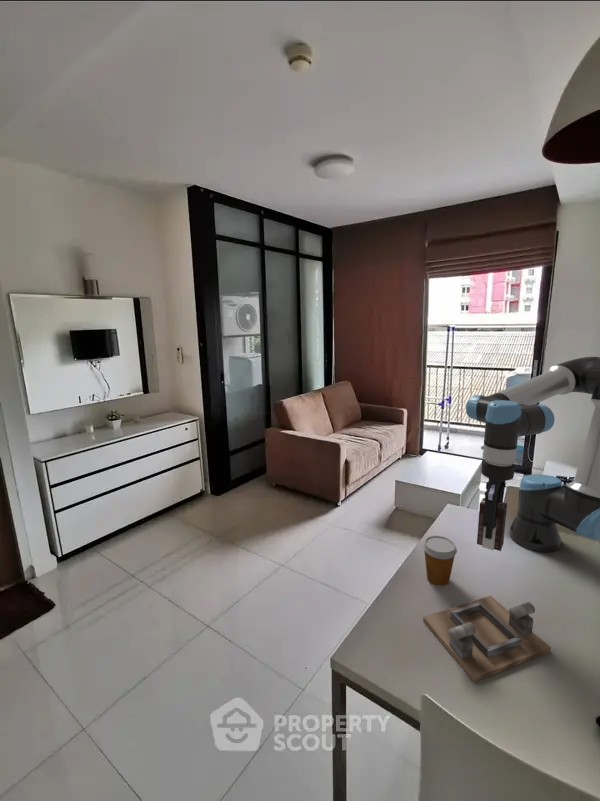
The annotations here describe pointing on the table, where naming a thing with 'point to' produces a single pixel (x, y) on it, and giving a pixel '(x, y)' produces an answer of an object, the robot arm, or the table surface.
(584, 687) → the table surface
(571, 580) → the table surface
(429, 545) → the disposable coffee cup
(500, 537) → the box
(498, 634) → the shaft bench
